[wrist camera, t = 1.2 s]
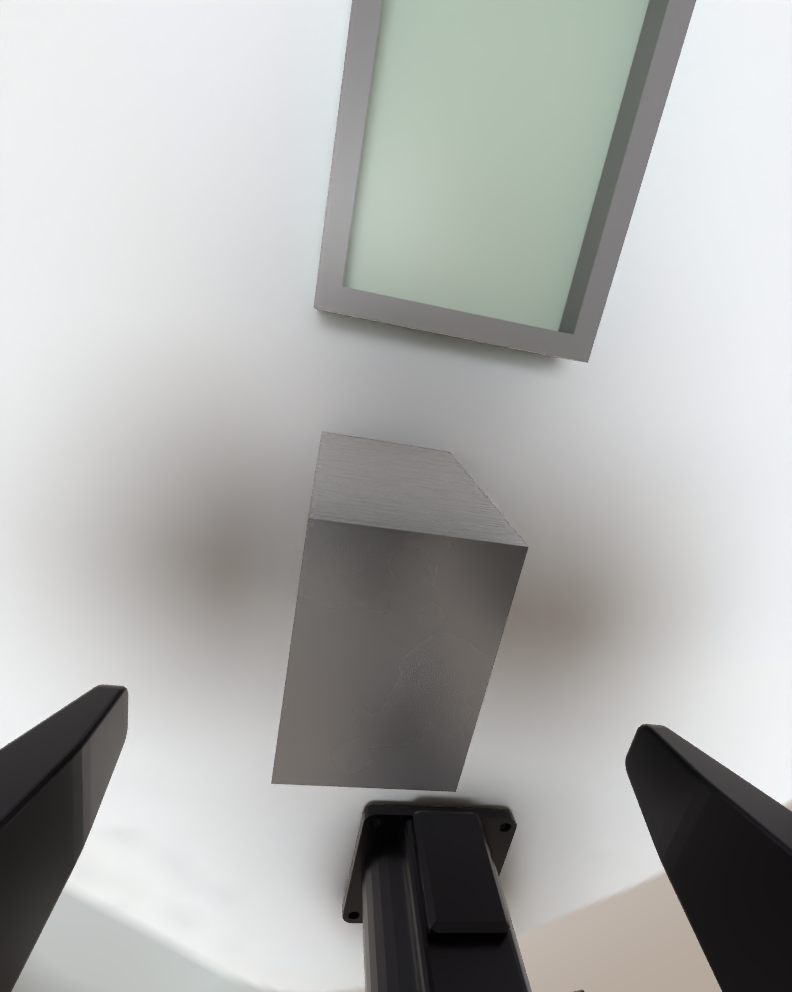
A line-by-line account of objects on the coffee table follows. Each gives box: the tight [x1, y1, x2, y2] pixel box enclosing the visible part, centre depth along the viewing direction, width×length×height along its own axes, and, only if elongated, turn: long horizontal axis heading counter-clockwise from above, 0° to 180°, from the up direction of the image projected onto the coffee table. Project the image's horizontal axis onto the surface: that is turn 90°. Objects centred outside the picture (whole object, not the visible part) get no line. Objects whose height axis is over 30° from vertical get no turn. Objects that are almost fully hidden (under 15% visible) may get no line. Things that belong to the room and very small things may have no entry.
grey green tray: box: [314, 0, 696, 363], centre depth 12 cm, size 9×7×2 cm
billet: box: [271, 432, 528, 792], centre depth 13 cm, size 6×4×7 cm, turn 169°
